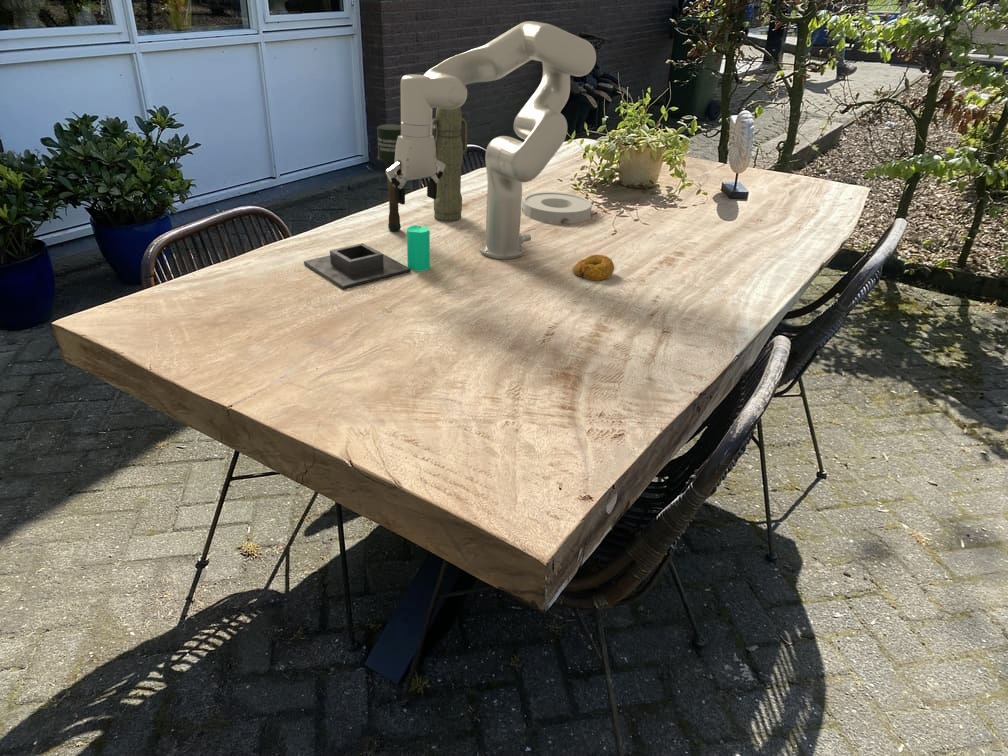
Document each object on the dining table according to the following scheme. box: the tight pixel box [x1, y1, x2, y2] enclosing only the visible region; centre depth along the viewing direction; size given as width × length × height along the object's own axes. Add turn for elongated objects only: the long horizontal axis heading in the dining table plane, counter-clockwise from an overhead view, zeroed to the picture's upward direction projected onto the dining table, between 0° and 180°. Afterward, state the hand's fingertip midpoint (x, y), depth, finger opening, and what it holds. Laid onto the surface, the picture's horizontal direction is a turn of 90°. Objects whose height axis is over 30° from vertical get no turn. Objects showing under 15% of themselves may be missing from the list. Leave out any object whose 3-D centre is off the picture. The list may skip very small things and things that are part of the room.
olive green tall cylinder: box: [432, 106, 468, 223], centre depth 216 cm, size 9×12×35 cm
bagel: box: [572, 254, 615, 282], centre depth 188 cm, size 10×11×5 cm
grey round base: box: [521, 191, 593, 224], centre depth 235 cm, size 23×23×4 cm
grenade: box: [376, 123, 402, 233], centre depth 204 cm, size 8×9×30 cm
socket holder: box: [303, 242, 412, 291], centre depth 184 cm, size 20×20×4 cm
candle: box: [406, 224, 431, 272], centre depth 185 cm, size 6×6×12 cm
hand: (416, 200), depth 179 cm, fingers open, 9 cm apart
